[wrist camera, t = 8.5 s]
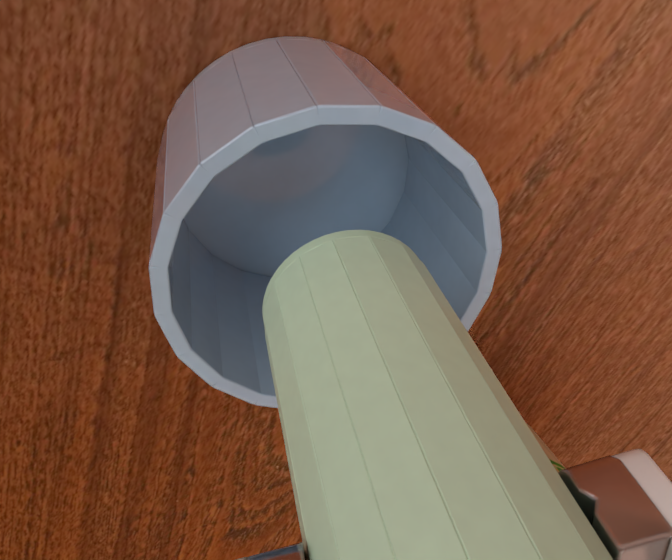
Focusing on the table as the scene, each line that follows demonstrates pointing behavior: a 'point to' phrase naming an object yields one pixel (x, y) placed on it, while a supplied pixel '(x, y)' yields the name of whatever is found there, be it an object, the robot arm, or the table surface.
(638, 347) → the table surface
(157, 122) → the table surface
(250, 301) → the tumbler
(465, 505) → the bottle
